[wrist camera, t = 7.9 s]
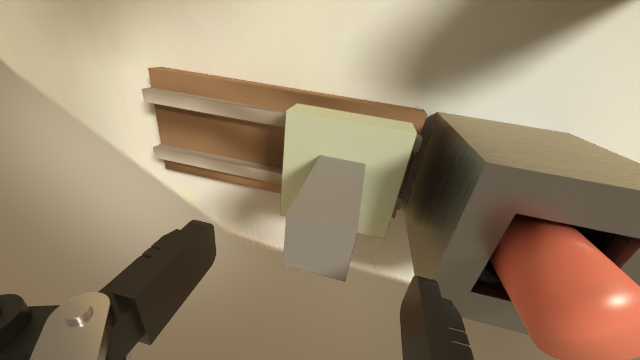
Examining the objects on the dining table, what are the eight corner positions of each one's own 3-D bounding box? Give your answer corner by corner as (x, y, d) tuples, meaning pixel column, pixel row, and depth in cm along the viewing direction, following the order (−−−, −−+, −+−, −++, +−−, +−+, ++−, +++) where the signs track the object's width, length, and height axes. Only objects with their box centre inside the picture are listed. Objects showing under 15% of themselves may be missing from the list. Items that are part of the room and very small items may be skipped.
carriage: (297, 103, 18) (228, 146, 10) (412, 122, 17) (443, 189, 9) (289, 198, 22) (235, 288, 14) (383, 219, 21) (386, 329, 13)
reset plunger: (495, 192, 14) (566, 277, 9) (576, 208, 13) (704, 309, 8) (466, 248, 16) (510, 346, 10) (537, 264, 15) (620, 375, 10)
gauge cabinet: (437, 112, 19) (486, 162, 10) (569, 133, 18) (748, 210, 9) (404, 211, 23) (419, 306, 15) (509, 233, 22) (594, 351, 13)
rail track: (161, 67, 22) (137, 68, 20) (423, 109, 19) (429, 117, 17) (176, 162, 26) (157, 172, 24) (393, 208, 23) (394, 224, 21)
